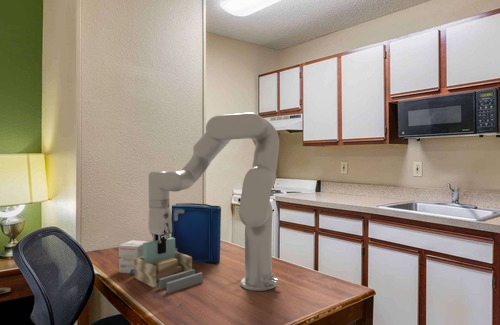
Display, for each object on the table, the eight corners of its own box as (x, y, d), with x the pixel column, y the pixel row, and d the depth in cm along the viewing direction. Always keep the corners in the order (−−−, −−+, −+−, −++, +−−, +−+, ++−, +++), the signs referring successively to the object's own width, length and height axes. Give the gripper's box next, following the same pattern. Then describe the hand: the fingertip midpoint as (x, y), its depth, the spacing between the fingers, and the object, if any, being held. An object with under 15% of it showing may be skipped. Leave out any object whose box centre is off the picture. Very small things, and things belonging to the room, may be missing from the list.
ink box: (150, 269, 136) (149, 240, 136) (138, 276, 128) (137, 246, 127) (131, 267, 138) (131, 239, 138) (118, 274, 130) (118, 244, 130)
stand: (206, 285, 119) (206, 273, 119) (169, 298, 108) (169, 285, 108) (191, 278, 125) (191, 267, 125) (155, 290, 115) (155, 278, 114)
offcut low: (181, 275, 125) (181, 266, 125) (157, 283, 118) (157, 273, 118) (175, 273, 128) (175, 264, 128) (151, 280, 121) (151, 270, 121)
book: (222, 259, 148) (222, 203, 148) (219, 264, 141) (219, 205, 141) (175, 258, 150) (174, 202, 150) (170, 263, 143) (169, 205, 143)
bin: (192, 278, 126) (192, 257, 126) (153, 290, 115) (153, 267, 114) (172, 269, 136) (171, 249, 136) (134, 279, 124) (134, 258, 124)
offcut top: (177, 267, 125) (177, 259, 125) (159, 273, 119) (159, 264, 119) (171, 265, 127) (171, 257, 127) (153, 270, 121) (153, 262, 121)
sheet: (175, 271, 130) (175, 238, 130) (146, 279, 122) (146, 244, 122) (172, 270, 132) (171, 237, 132) (143, 278, 124) (143, 243, 123)
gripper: (179, 204, 123) (180, 254, 124) (157, 200, 135) (157, 246, 135) (161, 207, 118) (161, 259, 118) (139, 202, 129) (140, 250, 130)
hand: (159, 251), depth 127 cm, fingers closed on sheet, 2 cm apart
